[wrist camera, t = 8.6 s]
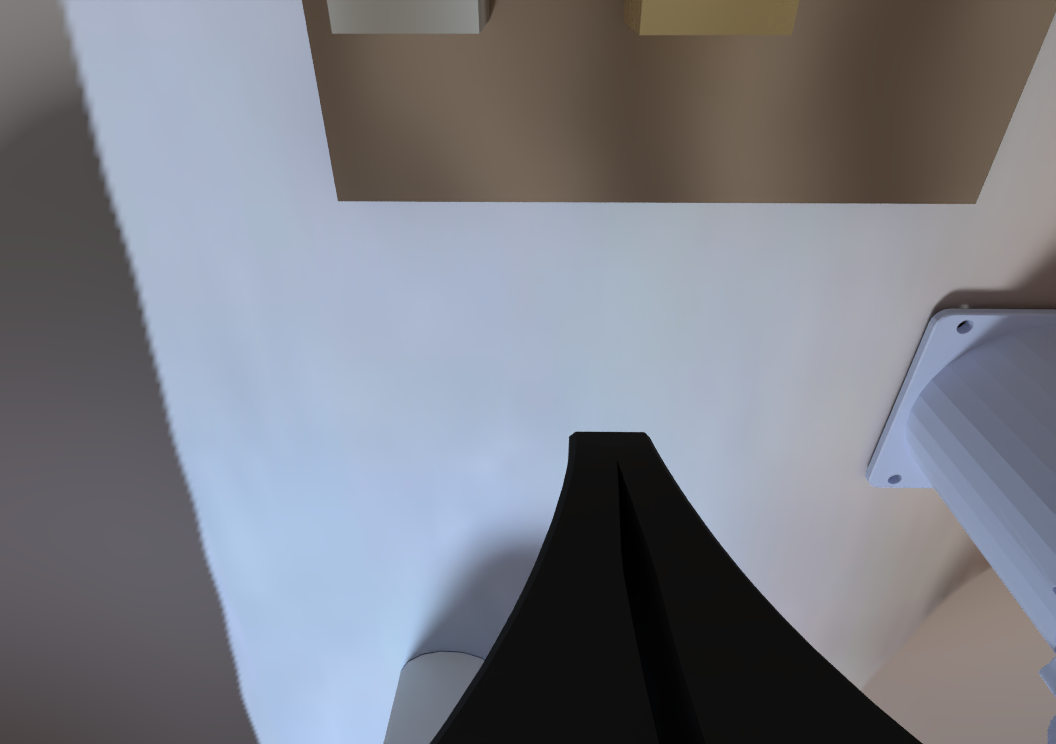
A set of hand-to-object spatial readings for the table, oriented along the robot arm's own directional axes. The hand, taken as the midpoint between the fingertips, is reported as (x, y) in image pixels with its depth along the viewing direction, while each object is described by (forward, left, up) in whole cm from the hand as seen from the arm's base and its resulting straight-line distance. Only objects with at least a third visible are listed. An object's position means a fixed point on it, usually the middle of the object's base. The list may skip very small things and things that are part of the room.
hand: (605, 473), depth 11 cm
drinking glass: (+6, +26, -11) cm, 29 cm away
